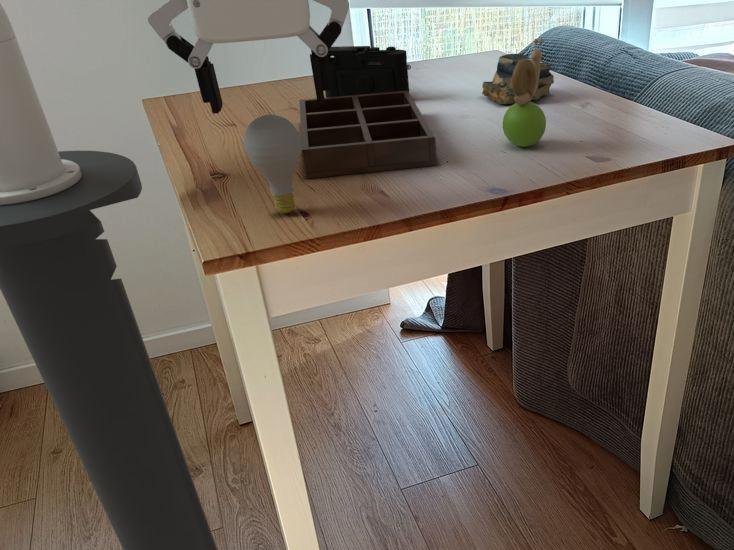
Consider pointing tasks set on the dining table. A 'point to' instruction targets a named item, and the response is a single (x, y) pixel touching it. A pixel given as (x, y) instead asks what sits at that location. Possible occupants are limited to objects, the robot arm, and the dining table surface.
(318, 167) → the compartment tray
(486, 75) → the dining table surface
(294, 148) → the light bulb
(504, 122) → the snail figurine
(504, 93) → the rock
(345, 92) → the camera
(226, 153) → the dining table surface
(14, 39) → the robot arm
